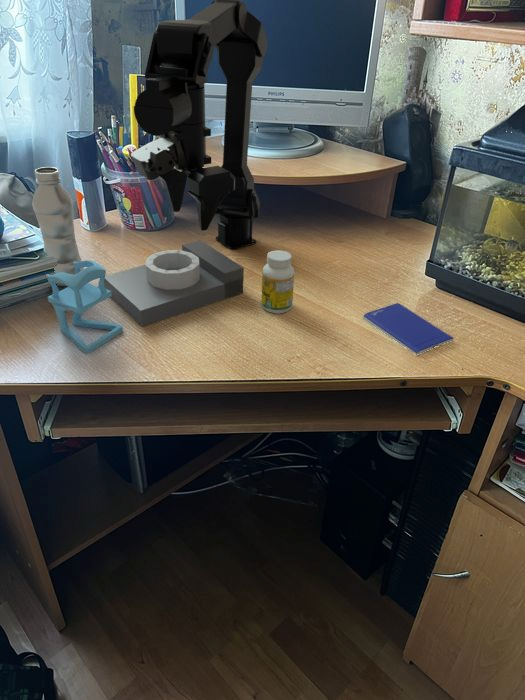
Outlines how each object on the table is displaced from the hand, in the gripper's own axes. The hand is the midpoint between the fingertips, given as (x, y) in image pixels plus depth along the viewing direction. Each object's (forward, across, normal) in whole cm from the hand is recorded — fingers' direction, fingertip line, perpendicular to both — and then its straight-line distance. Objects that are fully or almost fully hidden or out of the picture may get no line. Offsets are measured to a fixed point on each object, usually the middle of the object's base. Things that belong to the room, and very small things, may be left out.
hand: (189, 220), depth 90 cm
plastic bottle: (+13, -14, -18) cm, 26 cm away
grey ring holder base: (+13, -1, -3) cm, 14 cm away
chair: (+13, +4, -21) cm, 25 cm away
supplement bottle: (+13, +12, +10) cm, 21 cm away
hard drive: (+14, +30, +23) cm, 40 cm away
